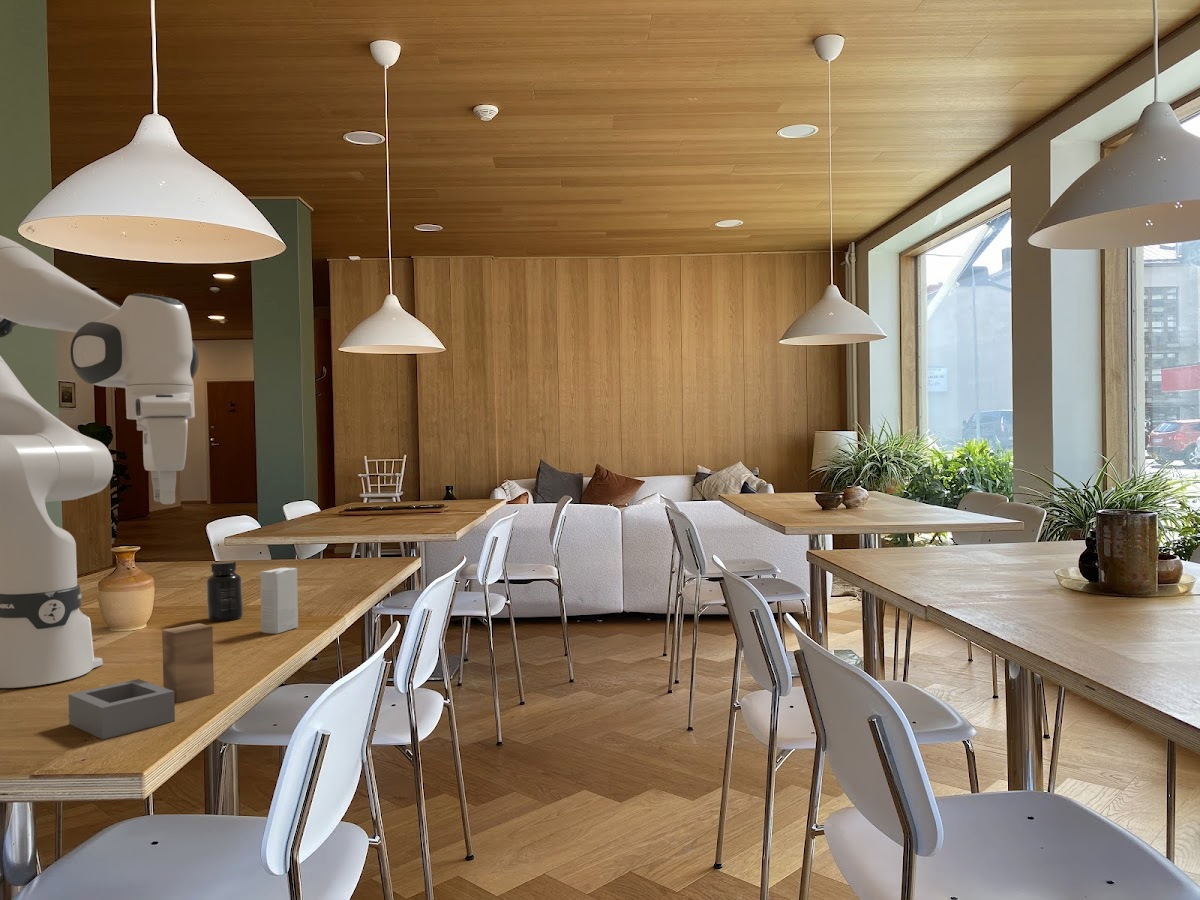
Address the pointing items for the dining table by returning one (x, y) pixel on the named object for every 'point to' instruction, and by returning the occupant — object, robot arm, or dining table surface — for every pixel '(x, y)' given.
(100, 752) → the dining table surface
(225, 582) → the supplement bottle
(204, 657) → the walnut peg
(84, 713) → the holder
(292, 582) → the skincare box
